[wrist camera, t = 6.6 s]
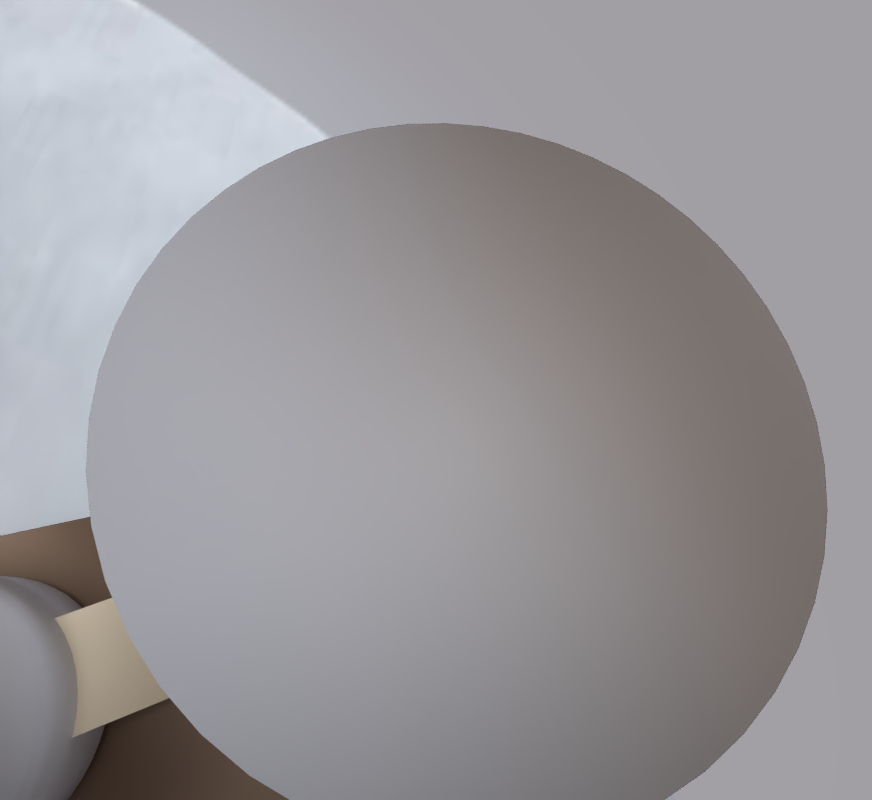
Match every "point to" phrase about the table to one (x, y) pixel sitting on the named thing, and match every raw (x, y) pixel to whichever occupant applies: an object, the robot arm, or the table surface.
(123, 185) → the table surface
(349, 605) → the crank handle
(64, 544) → the stand board
